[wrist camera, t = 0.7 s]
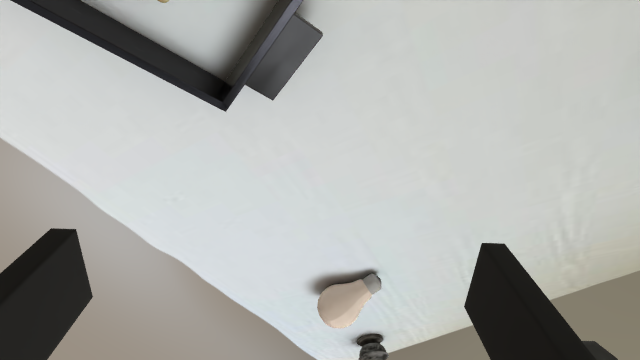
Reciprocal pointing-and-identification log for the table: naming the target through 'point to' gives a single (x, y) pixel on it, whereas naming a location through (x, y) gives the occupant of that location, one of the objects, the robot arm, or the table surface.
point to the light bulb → (346, 301)
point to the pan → (252, 69)
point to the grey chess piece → (372, 348)
